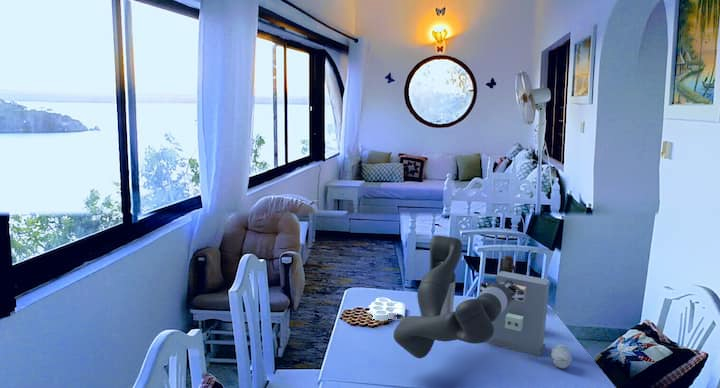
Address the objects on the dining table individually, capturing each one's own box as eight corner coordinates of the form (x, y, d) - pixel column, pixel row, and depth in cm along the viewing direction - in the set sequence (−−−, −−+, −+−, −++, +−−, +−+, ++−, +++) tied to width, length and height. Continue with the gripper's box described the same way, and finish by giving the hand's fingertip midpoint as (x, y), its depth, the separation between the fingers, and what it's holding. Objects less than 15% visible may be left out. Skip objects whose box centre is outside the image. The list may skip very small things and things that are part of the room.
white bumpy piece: (404, 325, 191) (364, 322, 193) (405, 307, 209) (369, 304, 211) (404, 316, 191) (364, 313, 192) (405, 299, 208) (369, 296, 210)
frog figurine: (565, 361, 167) (567, 341, 166) (574, 372, 160) (577, 351, 159) (546, 361, 167) (548, 340, 166) (555, 372, 160) (557, 351, 159)
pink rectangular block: (522, 302, 165) (523, 289, 164) (506, 298, 168) (507, 286, 167) (525, 298, 168) (526, 286, 167) (509, 295, 170) (510, 283, 170)
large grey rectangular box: (540, 356, 170) (547, 286, 166) (488, 343, 178) (494, 275, 174) (545, 347, 177) (551, 279, 173) (495, 335, 185) (500, 269, 181)
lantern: (516, 303, 216) (522, 232, 211) (513, 310, 209) (519, 237, 204) (496, 300, 219) (502, 230, 214) (492, 306, 212) (498, 234, 207)
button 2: (520, 331, 167) (521, 320, 166) (504, 328, 169) (505, 316, 168) (522, 328, 170) (523, 316, 169) (507, 324, 172) (508, 313, 171)
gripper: (519, 292, 138) (533, 275, 153) (470, 282, 144) (488, 267, 159) (516, 319, 139) (530, 299, 154) (468, 308, 145) (486, 290, 160)
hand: (509, 283), depth 157 cm, fingers closed
